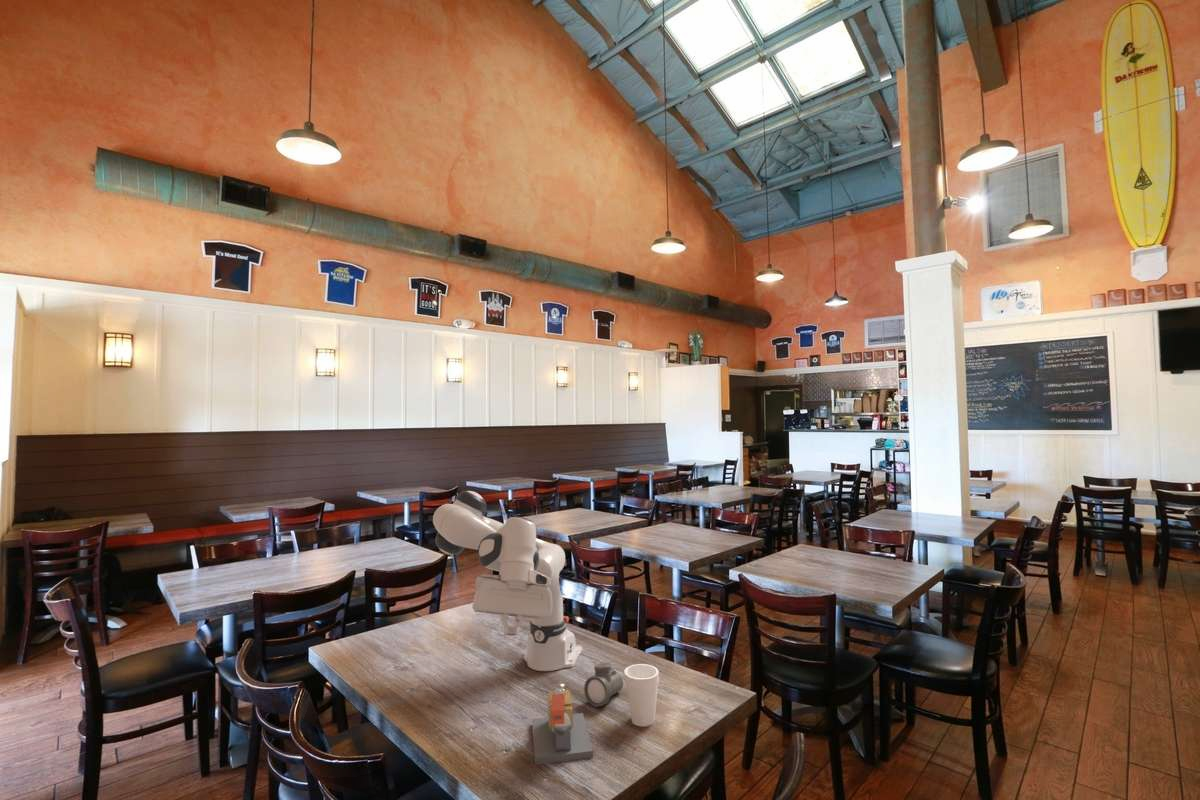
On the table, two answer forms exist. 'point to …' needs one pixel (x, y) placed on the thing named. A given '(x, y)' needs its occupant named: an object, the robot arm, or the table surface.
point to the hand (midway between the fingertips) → (510, 634)
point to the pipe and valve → (562, 729)
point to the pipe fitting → (602, 684)
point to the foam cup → (642, 693)
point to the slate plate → (546, 741)
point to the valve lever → (558, 704)
